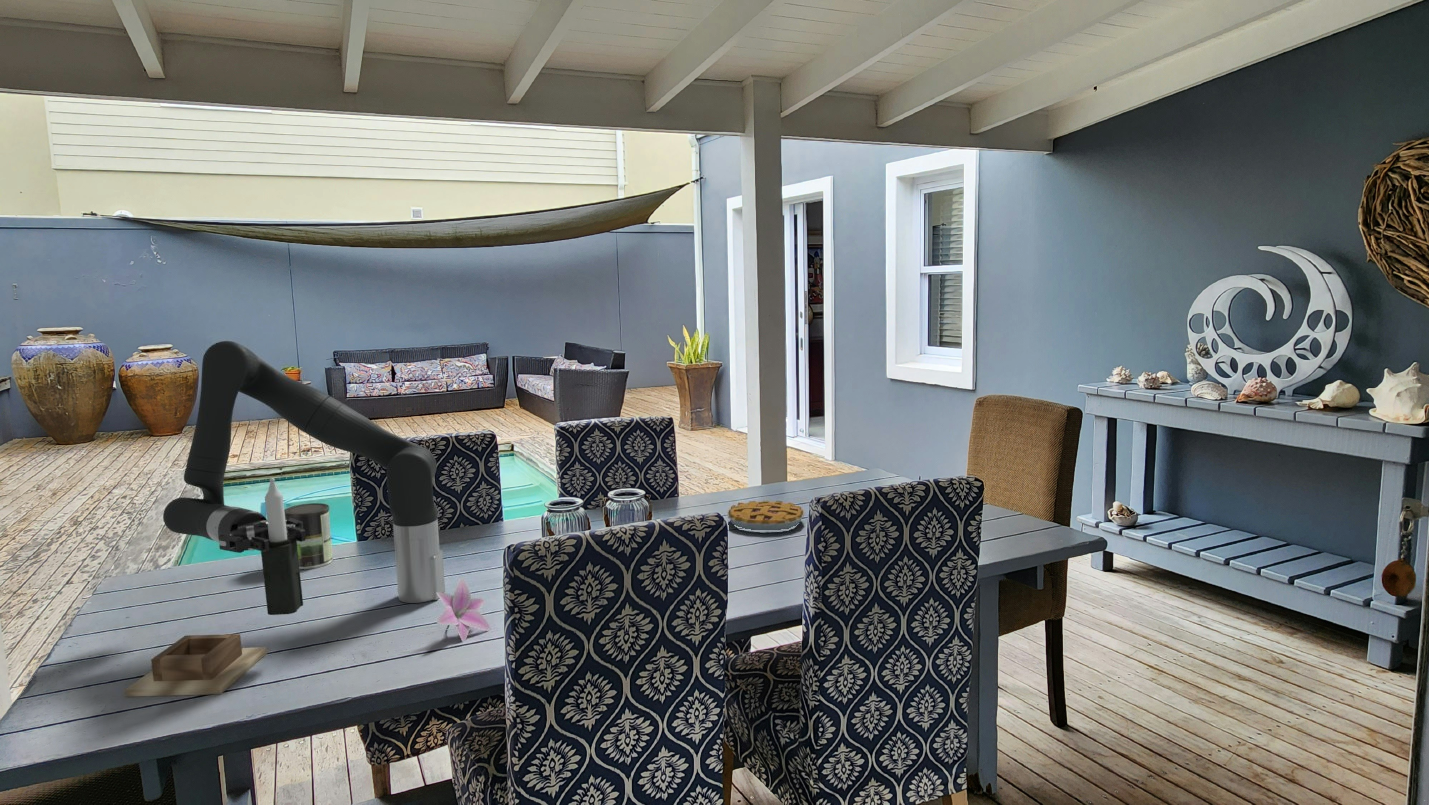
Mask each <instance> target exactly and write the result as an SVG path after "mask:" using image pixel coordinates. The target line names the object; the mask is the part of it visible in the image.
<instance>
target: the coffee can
mask: <svg viewBox="0 0 1429 805" xmlns="http://www.w3.org/2000/svg"><path fill="white" fill-rule="evenodd" d="M284 512H285V518H287V517H289V518H293V519H296V520H298V521H301V522H303V530H305V531H306V538H305V541H302V542H300V541H297V549H298V559H299V568H300V569H304V570H310V569H311V570H313V569H317V568H322V567H325V566H328V565H329V564H331V563H332V562H333V561H334V558H333V547H332V546H333V545H332V534H331V532H332V531H331V520H330V505H329V504H328V503H327V504H326V503H322V502H317V503H316V502H314V503H313V502H311V503H309V502H308V503H301V504H297V505H293V506H289V507H287V508H284ZM287 535H289V532H288V533H287Z"/></svg>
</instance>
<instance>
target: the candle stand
mask: <svg viewBox="0 0 1429 805" xmlns="http://www.w3.org/2000/svg"><path fill="white" fill-rule="evenodd" d="M267 654H268V648H267V646H263V647H262V646H261V647H242V638H241V634H240V633H235V634H233V633H232V634H229V633H228V634H227V633H226V634H196V635H190V634H189V635H184V636H182V637H181V638H179V639H177V641H175V642H174V643H172V644H171V645H170V646H168V647H166V648H165V649H164V650H163V651H161V652H159V653H158V654H157V655H155V656H154V657H153V658H151V659H150V661H151V669H152V670H150V671H149V672H147V673H146V674H144V675H143V676H142V677H141V678H140V679H139V678H138V680H137V681H135V682H133V683H132V684H131V685H130V686H128V687H127V688H125V689H124V695H125V697H126V698H129V697H161V696H163V697H164V696H166V697H167V696H169V697H170V696H198V695H199V696H200V695H222V694H223V693H224V692H225V691H226V690H227V689H229V687H230V686H232V685H233V684H234V683H235V682H236V681H238V680H239V679H240V678H241V677H242V676H243V675H244V674H246V673H247V672H248V671H249V670H250V669H251V668H252V667H254V666H255V664H257V663H258V662H259V661H260V660H261V659H262V658H264V657H266V655H267Z"/></svg>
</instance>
